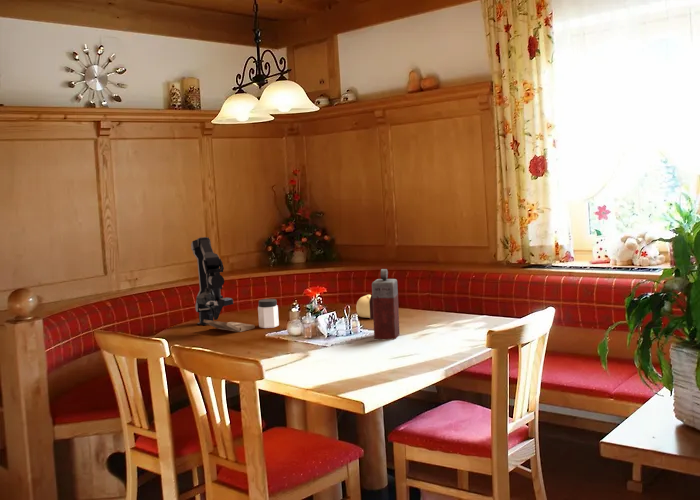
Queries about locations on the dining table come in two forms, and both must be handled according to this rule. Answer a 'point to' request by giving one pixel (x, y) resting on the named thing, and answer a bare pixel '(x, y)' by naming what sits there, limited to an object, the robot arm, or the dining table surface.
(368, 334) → the dining table surface
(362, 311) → the sculpture
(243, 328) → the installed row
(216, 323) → the plank
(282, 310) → the dining table surface
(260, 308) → the jar
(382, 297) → the red grey rectangular bottle
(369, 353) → the dining table surface
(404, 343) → the dining table surface
